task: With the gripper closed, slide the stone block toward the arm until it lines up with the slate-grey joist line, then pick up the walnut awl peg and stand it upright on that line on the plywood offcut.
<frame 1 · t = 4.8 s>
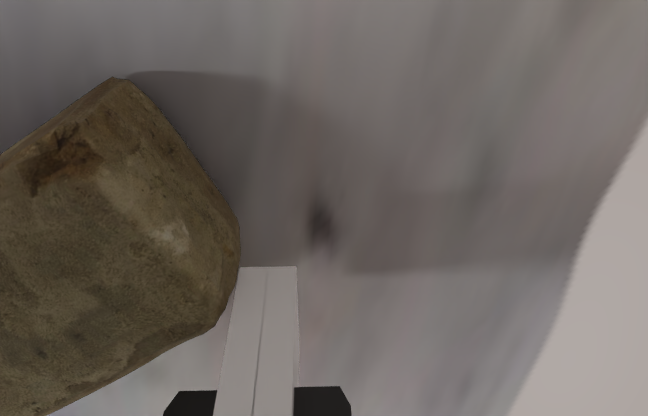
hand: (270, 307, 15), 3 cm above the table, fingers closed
stone block: (57, 228, 17), on the table
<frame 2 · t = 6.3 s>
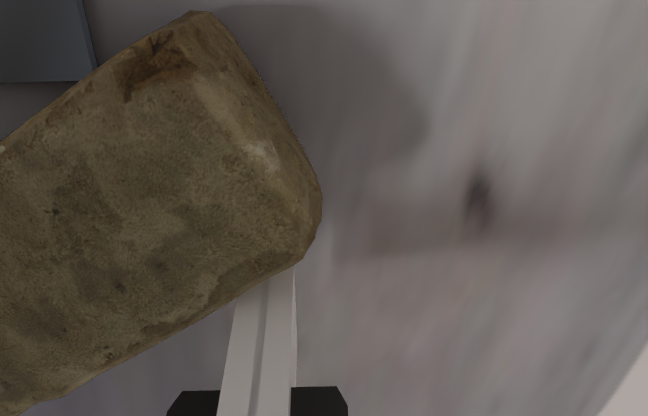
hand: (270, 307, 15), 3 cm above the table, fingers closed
stone block: (123, 185, 17), on the table, touching gripper, plywood panel
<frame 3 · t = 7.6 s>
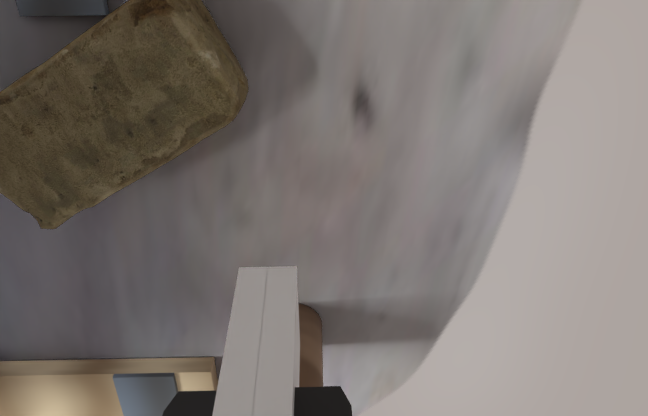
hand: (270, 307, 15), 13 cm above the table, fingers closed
awl peg: (293, 325, 33), on the table
stone block: (126, 86, 26), on the table
plywood panel: (160, 407, 36), on the table
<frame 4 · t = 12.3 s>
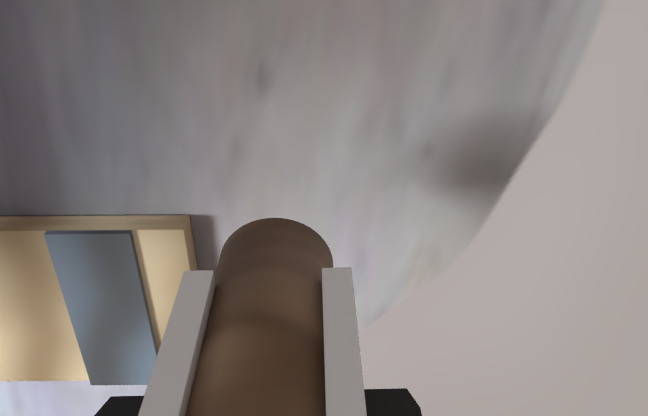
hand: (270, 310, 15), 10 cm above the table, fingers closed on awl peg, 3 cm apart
awl peg: (276, 265, 17), point 7 cm above the table, touching gripper
plywood panel: (118, 295, 27), on the table
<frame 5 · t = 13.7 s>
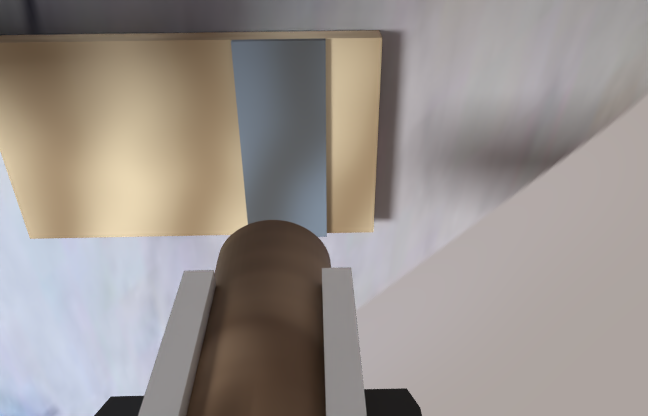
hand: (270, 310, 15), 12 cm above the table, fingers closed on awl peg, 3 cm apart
awl peg: (274, 267, 17), point 9 cm above the table, touching gripper
plywood panel: (284, 134, 25), on the table
when the fingers open (2 cm above the table, at t = 15.5 s): awl peg stays where it is, resting on plywood panel.
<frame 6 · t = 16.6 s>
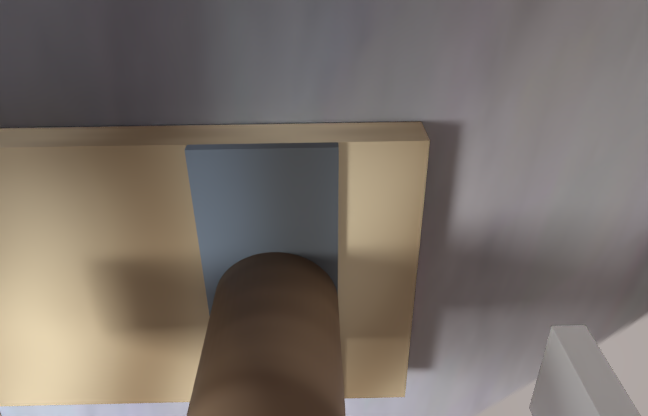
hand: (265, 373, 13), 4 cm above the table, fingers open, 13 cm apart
awl peg: (276, 302, 15), point 2 cm above the table, touching plywood panel
plywood panel: (275, 265, 17), on the table
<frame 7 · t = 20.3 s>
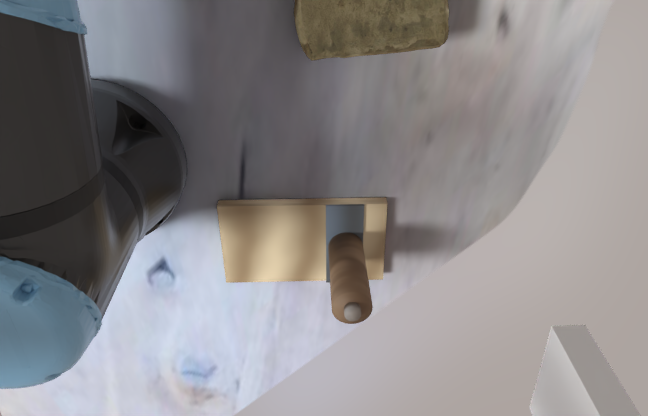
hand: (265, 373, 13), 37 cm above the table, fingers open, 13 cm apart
awl peg: (345, 247, 54), point 2 cm above the table, touching plywood panel
stone block: (366, 3, 44), on the table
plywood panel: (343, 237, 55), on the table
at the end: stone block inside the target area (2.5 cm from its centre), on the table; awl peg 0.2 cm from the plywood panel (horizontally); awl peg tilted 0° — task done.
